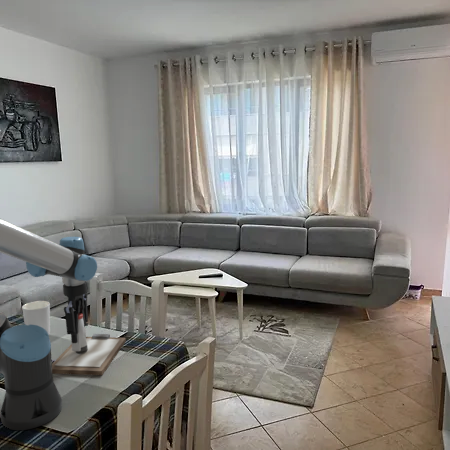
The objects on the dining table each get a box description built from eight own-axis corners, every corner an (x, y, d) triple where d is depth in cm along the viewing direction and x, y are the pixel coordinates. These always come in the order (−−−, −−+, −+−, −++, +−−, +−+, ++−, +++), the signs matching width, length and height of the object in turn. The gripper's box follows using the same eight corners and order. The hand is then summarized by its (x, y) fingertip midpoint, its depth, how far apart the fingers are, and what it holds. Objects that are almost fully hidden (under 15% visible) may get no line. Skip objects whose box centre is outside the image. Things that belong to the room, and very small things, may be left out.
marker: (73, 353, 143) (67, 318, 141) (78, 348, 147) (72, 313, 145) (85, 353, 143) (79, 317, 140) (89, 347, 147) (84, 312, 145)
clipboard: (47, 373, 134) (46, 365, 134) (79, 340, 158) (78, 333, 157) (102, 375, 133) (101, 367, 132) (125, 341, 156) (125, 334, 156)
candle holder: (56, 329, 167) (54, 301, 165) (44, 340, 158) (41, 310, 155) (33, 328, 168) (30, 300, 166) (19, 339, 159) (16, 309, 156)
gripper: (74, 291, 132) (79, 359, 136) (95, 275, 149) (99, 337, 153) (51, 290, 133) (57, 359, 137) (75, 275, 149) (79, 336, 153)
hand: (79, 347), depth 145 cm, fingers closed on marker, 4 cm apart
